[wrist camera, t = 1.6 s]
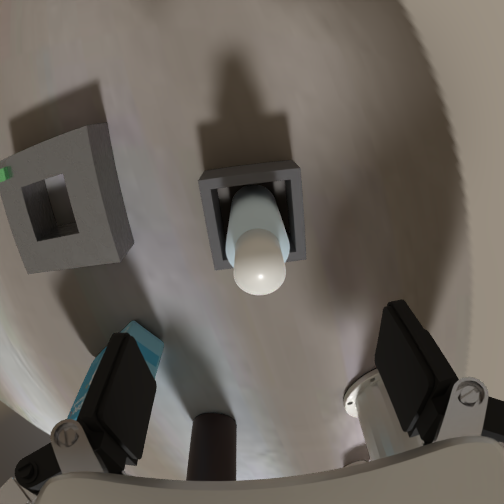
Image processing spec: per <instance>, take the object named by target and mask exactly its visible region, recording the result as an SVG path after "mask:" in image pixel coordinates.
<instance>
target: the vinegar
mask: <svg viewBox="0 0 504 504" xmlns="http://www.w3.org/2000/svg"><path fill="white" fill-rule="evenodd" d="M236 428H237V425H236V423H235V421H234V420H233V419H232V418H230V417H228V416H226V415H223V414H219V413H205V414H201V415H199V416H197V417H196V418H195V419H194V421H193V426H192V434H191V443H190V451H189V460H188V469H187V479H186V481H236Z"/></svg>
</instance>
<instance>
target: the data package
mask: <svg viewBox="0 0 504 504" xmlns="http://www.w3.org/2000/svg"><path fill="white" fill-rule="evenodd" d="M125 332H127V333H129V334H130V336H133V337H134V338H135V340H136V342H137V344H138V347H139V349H140V351H141V353H142V355H143V357H144V359H145V361H146V363H147V365H148V367H149V369H150V371H151V373H152V375H153V377H154V379H155V376H156V373H157V369H158V365H159V362H160V358H161V355H162V351H163V348H164V343H163V341H161V340H160V339H158V338H157V337H156V336H154V335H153V334H152V333H150V332H149V331H147V330H146V329H145V328H143V327H142V326H141V325H139V324H138V323H137V322H136V321H131V322H130V323H129V324H128V325H127V326H126V327H125V328H124V329H123V330H122V331H121V332H120V333H125ZM106 348H107V346H106V347H105V348H104V349H103V350H102V351H101V353H100V354H99V355H98V356H97V357H96V358H95V360H94V361H93V363H92V364H91V366H90V368H89V371H88V373H87V375H86V377H85V379H84V381H83V383H82V386H81V388H80V390H79V392H78V395H77V397H76V399H75V401H74V404H73V406H72V408H71V411H70V413H69V415H68V418H67V419H73V420H77V417H78V415H79V412H80V409H81V407H82V404H83V402H84V399H85V397H86V394H87V392H88V389H89V387H90V384H91V382H92V380H93V377H94V375H95V372H96V370H97V368H98V366H99V363H100V361H101V359H102V357H103V354H104V352H105V350H106Z"/></svg>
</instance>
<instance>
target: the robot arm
mask: <svg viewBox="0 0 504 504" xmlns="http://www.w3.org/2000/svg"><path fill="white" fill-rule="evenodd" d="M375 364H376V367H377V369H375V370H373V371H371V372H369V373H367V374H366V375H364V376H362V377H361V378H360V379H358V380H357V381H356V382H355V383H354V384H353V385H352V386H351V387H350V388H349V390H348V391H347V393H346V394H345V396H344V400H343V402H344V407H345V411H346V412H347V413H348V414H349V415H350V416H352V417H355V418H359V421H360V425H361V428H362V432H363V435H364V438H365V442H366V445H367V449H368V452H369V456H370V460H371V461H369V462H366V463H362V464H357V465H353V466H349V467H344V468H339V469H334V470H329V471H324V472H318V473H312V474H305V475H298V476H290V477H282V478H272V479H260V480H244V481H182V480H167V479H155V478H144V477H135V476H127V475H126V473H125V471H124V468H125V464H126V465H134V466H137V461H138V459H141V457H142V454H143V449H144V444H145V439H146V434H147V429H148V424H149V420H150V415H151V411H152V406H153V402H154V397H155V393H156V381H155V379H154V377H153V375H152V373H151V371H150V369H149V367H148V365H147V363H146V361H145V359H144V357H143V355H142V353H141V351H140V349H139V347H138V344H137V342H136V340H135V338H134V337H133V336H130V334H129V333H127V332H125V333H114V334H113V335H112V337H111V339H110V341H109V343H108V345H107V348H106V350H105V352H104V354H103V357H102V359H101V361H100V363H99V366H98V368H97V370H96V372H95V375H94V377H93V380H92V382H91V384H90V387H89V389H88V392H87V394H86V397H85V399H84V402H83V404H82V407H81V409H80V412H79V415H78V417H77V420H73V419H65V420H62V421H60V422H59V423H57V424H56V425H55V427H54V428H53V430H52V432H51V436H50V439H51V443H49V444H47V445H46V446H44V447H42V448H40V449H39V450H37V451H35V452H33V453H32V454H30V455H28V456H26V457H25V458H23V459H22V460H20V461H19V463H18V464H17V466H16V468H15V478H12V477H11V478H10V479H9V480H8V481H7V482H6V483H5V484H4V485H3V486H2V487H1V488H0V504H504V401H501V400H498V399H495V398H492V397H489V396H488V391H487V388H486V386H485V385H484V384H483V383H482V382H481V381H480V380H478V379H476V378H473V377H465V378H462V379H460V380H459V379H458V377H457V376H456V374H455V372H454V371H453V369H452V367H451V366H450V364H449V363H448V361H447V359H446V358H445V356H444V355H443V353H442V352H441V350H440V348H439V347H438V345H437V344H436V342H435V341H434V339H433V338H432V336H431V335H430V333H429V332H428V331H427V330H425V329H424V328H423V327H422V325H421V324H420V322H419V321H418V319H417V318H416V317H415V315H414V314H413V312H412V311H411V309H410V308H409V306H408V305H407V304H406V302H405V301H404V300H397V301H392V302H389V303H388V304H387V306H386V307H384V309H383V314H382V320H381V326H380V332H379V337H378V343H377V348H376V353H375Z"/></svg>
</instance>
